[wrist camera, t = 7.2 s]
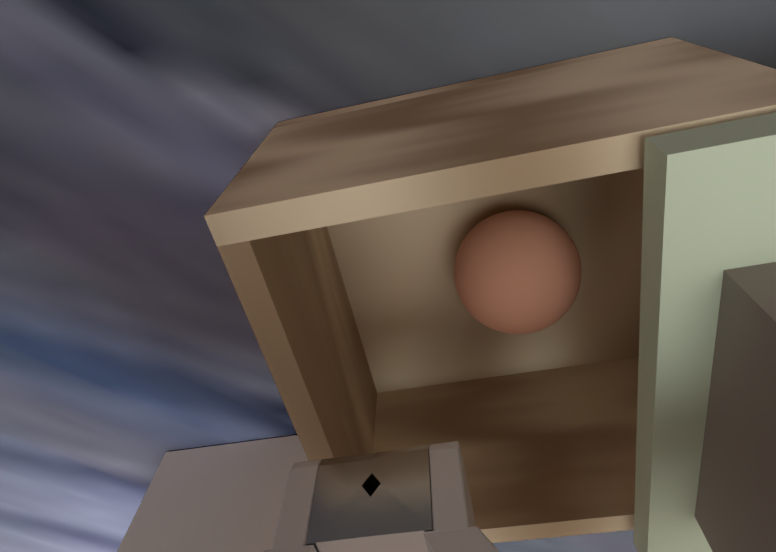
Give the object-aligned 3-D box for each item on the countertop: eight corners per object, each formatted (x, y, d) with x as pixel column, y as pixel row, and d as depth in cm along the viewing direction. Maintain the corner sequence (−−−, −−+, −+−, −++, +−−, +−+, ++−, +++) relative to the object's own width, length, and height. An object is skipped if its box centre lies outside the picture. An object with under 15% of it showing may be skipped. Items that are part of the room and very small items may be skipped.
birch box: (365, 395, 19) (349, 557, 14) (278, 121, 14) (203, 216, 9) (655, 355, 18) (756, 517, 13) (671, 37, 13) (847, 91, 8)
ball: (458, 298, 16) (468, 368, 13) (441, 203, 15) (449, 259, 12) (566, 281, 16) (599, 350, 13) (560, 180, 14) (597, 234, 11)
